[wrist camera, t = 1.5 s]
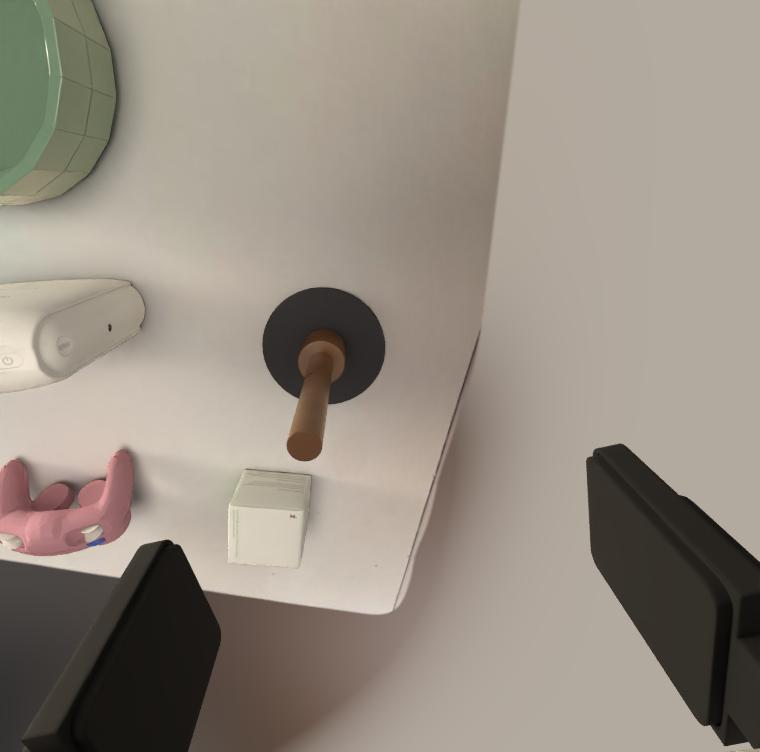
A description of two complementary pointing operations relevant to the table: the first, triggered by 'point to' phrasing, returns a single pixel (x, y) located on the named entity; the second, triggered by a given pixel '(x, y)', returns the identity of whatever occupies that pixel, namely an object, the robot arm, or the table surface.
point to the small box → (268, 519)
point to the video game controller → (64, 511)
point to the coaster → (334, 314)
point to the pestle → (315, 391)
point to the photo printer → (62, 327)
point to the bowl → (51, 97)
